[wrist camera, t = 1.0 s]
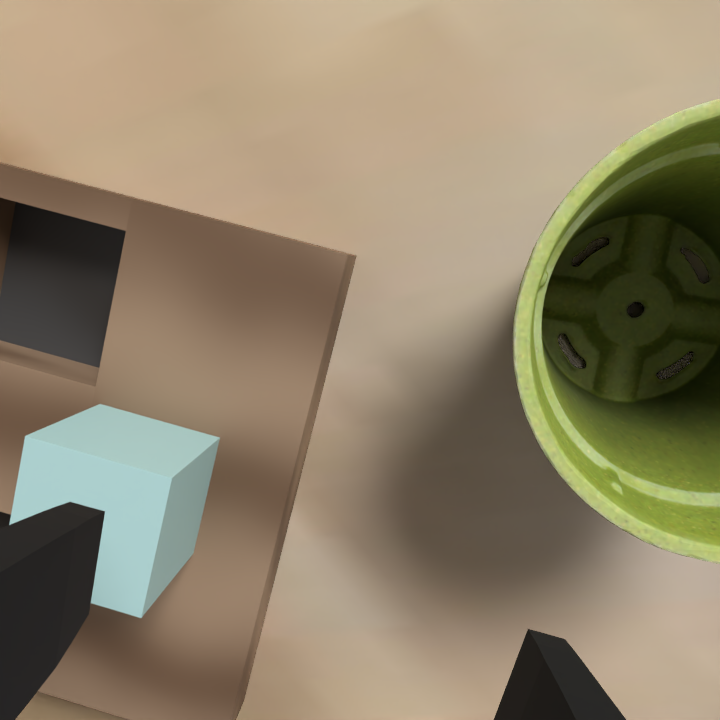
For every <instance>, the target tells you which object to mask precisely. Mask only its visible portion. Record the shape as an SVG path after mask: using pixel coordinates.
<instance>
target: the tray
mask: <svg viewBox="0 0 720 720" xmlns="http://www.w3.org/2000/svg"><path fill="white" fill-rule="evenodd" d="M355 259H356V255H352V254H348V253H344V252H340V251H336V250H333V249H329V248H325V247H321V246H317V245H313V244H310V243H306V242H302V241H298V240H294V239H291V238H287V237H283V236H279V235H275V234H271V233H268V232H264V231H260V230H256V229H252V228H249V227H245V226H241V225H237V224H233V223H229V222H226V221H222V220H218V219H214V218H210V217H207V216H203V215H199V214H195V213H191V212H187V211H184V210H180V209H176V208H172V207H168V206H165V205H161V204H157V203H153V202H149V201H145V200H142V199H138V198H134V197H130V196H126V195H122V194H119V193H115V192H111V191H107V190H103V189H100V188H96V187H92V186H88V185H84V184H80V183H77V182H73V181H69V180H65V179H61V178H58V177H54V176H50V175H46V174H42V173H38V172H35V171H31V170H27V169H23V168H19V167H16V166H12V165H8V164H4V163H0V528H3V527H5V526H8V525H9V524H10V518H11V512H12V507H13V501H14V496H15V490H16V485H17V479H18V473H19V468H20V462H21V457H22V451H23V446H24V440H25V436H26V435H28V434H31V433H33V432H35V431H38V430H40V429H42V428H45V427H47V426H49V425H52V424H54V423H56V422H59V421H61V420H64V419H66V418H68V417H71V416H73V415H75V414H78V413H80V412H82V411H85V410H87V409H89V408H92V407H94V406H96V405H99V404H102V405H106V406H109V407H113V408H116V409H120V410H124V411H127V412H131V413H134V414H138V415H141V416H145V417H148V418H152V419H156V420H159V421H163V422H166V423H170V424H173V425H177V426H180V427H184V428H187V429H191V430H195V431H198V432H202V433H205V434H209V435H212V436H216V437H219V438H220V440H219V444H218V449H217V453H216V457H215V462H214V466H213V470H212V475H211V479H210V484H209V488H208V492H207V497H206V501H205V505H204V510H203V514H202V518H201V523H200V527H199V531H198V536H197V540H196V544H195V549H194V553H193V555H192V556H191V557H190V558H189V560H188V561H187V562H186V563H185V565H184V566H183V567H182V568H181V569H180V571H179V572H178V573H177V574H176V576H175V577H174V578H173V579H172V581H171V582H170V583H169V584H168V586H167V587H166V588H165V589H164V591H163V592H162V593H161V594H160V596H159V597H158V598H157V599H156V601H155V602H154V603H153V604H152V606H151V607H150V608H149V609H148V610H147V612H146V613H145V614H144V615H143V617H142V618H139V617H136V616H132V615H129V614H126V613H122V612H119V611H116V610H112V609H109V608H106V607H102V606H99V605H96V604H92V603H91V604H90V611H89V615H88V617H87V618H86V620H85V622H84V623H83V625H82V626H81V628H80V630H79V631H78V633H77V635H76V636H75V638H74V640H73V641H72V643H71V645H70V646H69V648H68V649H67V651H66V653H65V654H64V656H63V657H62V659H61V660H60V662H59V663H58V665H57V667H56V668H55V670H54V671H53V672H52V673H51V675H50V676H49V677H48V679H47V680H46V681H45V682H44V684H43V685H42V686H41V687H40V689H39V690H38V692H41V693H44V694H47V695H51V696H54V697H57V698H60V699H63V700H67V701H70V702H73V703H76V704H80V705H83V706H86V707H89V708H92V709H96V710H99V711H102V712H105V713H109V714H112V715H115V716H118V717H121V718H125V719H128V720H236V718H237V716H238V713H239V711H240V709H241V706H242V704H243V701H244V698H245V694H246V690H247V686H248V682H249V678H250V674H251V670H252V666H253V662H254V658H255V654H256V650H257V646H258V642H259V638H260V634H261V630H262V627H263V623H264V619H265V615H266V611H267V607H268V603H269V599H270V595H271V591H272V587H273V583H274V579H275V575H276V571H277V567H278V563H279V559H280V556H281V552H282V548H283V544H284V540H285V536H286V532H287V528H288V524H289V520H290V516H291V512H292V508H293V504H294V500H295V496H296V492H297V488H298V484H299V481H300V477H301V473H302V469H303V465H304V461H305V457H306V453H307V449H308V445H309V441H310V437H311V433H312V429H313V425H314V421H315V417H316V413H317V409H318V406H319V402H320V398H321V394H322V390H323V386H324V382H325V378H326V374H327V370H328V366H329V362H330V358H331V354H332V350H333V346H334V342H335V338H336V334H337V331H338V327H339V323H340V319H341V315H342V311H343V307H344V303H345V299H346V295H347V291H348V287H349V283H350V279H351V275H352V271H353V267H354V263H355Z"/></svg>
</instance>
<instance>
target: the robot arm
mask: <svg viewBox="0 0 720 720" xmlns="http://www.w3.org/2000/svg"><path fill="white" fill-rule="evenodd" d="M104 515H105V511H102V510H98V509H95V508H91V507H87V506H84V505H80V504H77V503H73V502H68V503H65V504H62V505H59V506H56V507H53V508H51V509H48V510H46V511H43V512H40V513H38V514H35V515H33V516H30V517H28V518H25V519H23V520H20V521H18V522H15V523H13V524H10V525H8V526H5V527H3V528H0V720H15V719H16V718H17V716H18V715H19V714H20V713H21V711H22V710H23V709H24V708H25V706H26V705H27V704H28V703H29V701H30V700H31V699H32V698H33V696H34V695H35V694H36V692H37V691H38V690H39V689H40V687H41V686H42V685H43V684H44V682H45V681H46V680H47V679H48V677H49V676H50V675H51V673H52V672H53V671H54V670H55V668H56V667H57V665H58V663H59V662H60V660H61V659H62V657H63V656H64V654H65V653H66V651H67V649H68V648H69V646H70V645H71V643H72V641H73V640H74V638H75V636H76V635H77V633H78V631H79V630H80V628H81V626H82V625H83V623H84V622H85V620H86V618H87V617H88V615H89V611H90V604H91V598H92V592H93V585H94V579H95V573H96V566H97V560H98V553H99V547H100V541H101V534H102V528H103V522H104ZM494 720H626V719H625V717H624V716H623V715H622V714H621V712H620V711H619V710H618V708H617V707H616V706H615V704H614V703H613V702H612V700H611V699H610V698H609V696H608V695H607V694H606V692H605V691H604V690H603V688H602V687H601V686H600V684H599V683H598V681H597V680H596V679H595V677H594V676H593V675H592V673H591V672H590V671H589V669H588V668H587V667H586V665H585V664H584V663H583V661H582V660H581V659H580V657H579V656H578V655H577V654H576V652H575V651H574V650H573V648H572V647H571V646H570V645H569V644H568V642H567V641H566V640H565V639H562V638H559V637H555V636H551V635H548V634H544V633H541V632H537V631H533V630H530V629H528V631H527V633H526V636H525V639H524V641H523V644H522V646H521V649H520V652H519V654H518V657H517V660H516V662H515V665H514V668H513V670H512V673H511V676H510V678H509V681H508V684H507V686H506V689H505V691H504V694H503V697H502V699H501V702H500V705H499V707H498V710H497V713H496V715H495V718H494Z"/></svg>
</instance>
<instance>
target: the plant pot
mask: <svg viewBox="0 0 720 720" xmlns="http://www.w3.org/2000/svg"><path fill="white" fill-rule="evenodd" d="M600 237H606V238H608V239H609V244H608V245H607V246H605V247H602V248H601V249H600V250H598V251H596V252H595V253H593V254H591V255H590V256H589V257H588V258H586V259H585V260H584V261H583V262H582V263H581V264H580V265H579V266H578V267H575V266H572V259H573V257H574V256H576V255H577V254H579V253H580V252H581V251H583V250H585V248H586V247H587V245H588V244H589V243H590V242H591V241H593V240H595V239H598V238H600ZM681 248H683V249H689V250H691V251H692V252H693V253H695V254H696V255H697V256H699V258H700V259H701V260H702V261H703V262H704V264H705V266H706V268H707V270H708V272H709V281H708V282H707V283H705V284H703V283H701V282H700V281H699V280H698V276H697V275H696V273H695V272H694V269H693V268H692V266H691V265H690V263H689V261H687V260H686V259H685V255H684V254H682V253H681V250H680V249H681ZM633 302H640V303H641V304H642V305H643V306H644V310H643V313H642V314H641V315H640V316H639V317H634V318H632V317H631V316H629V315H628V312H627V308H628V306H629V305H631V304H632V303H633ZM561 333H563V334H566V335H567V338H568V340H569V341H570V343H571V345H572V347H573V348H574V350H575V351H576V352H577V353H578V355H579V356H580V357H581V358H583V359H584V360H585V362H586V367H585V368H583V369H582V368H578V367H575V366H573V365H572V364H571V363H570V362H569V360H568V357H567V356H566V355H565V354H564V352H563V351H562V350H561V348H560V346H559V342H558V337H559V334H561ZM689 351H692V352H693V360H692V361H691V363H690V364H689V365H687V366H686V367H685V368H684V369H682V370H681V371H679V372H678V373H677V374H676V375H674V376H672V377H669V378H668V379H659V378H658V377H657V376H656V374H657V372H659V371H661V370H662V369H664V368H667V367H668V366H671V365H672V364H675V363H676V362H677V361H678V360H679V359H682V358H683V356H685V355H686V354H687V353H688V352H689ZM513 360H514V371H515V377H516V383H517V388H518V393H519V396H520V399H521V403H522V406H523V410H524V413H525V415H526V418H527V420H528V423H529V425H530V427H531V430H532V432H533V434H534V436H535V438H536V440H537V442H538V444H539V445H540V447H541V449H542V451H543V452H544V454H545V456H546V457H547V459H548V460H549V462H550V463H551V465H552V466H553V467H554V469H555V470H556V471H557V473H558V474H559V475H560V476H561V477H562V479H563V480H564V481H565V482H566V483H567V484H568V486H569V487H570V488H571V489H572V490H573V491H574V492H575V493H576V494H577V495H578V496H579V497H580V498H581V499H582V500H583V501H584V502H585V503H587V504H588V505H589V506H590V507H591V508H592V509H594V510H595V511H596V512H597V513H598V514H600V515H601V516H602V517H604V518H605V519H607V520H608V521H609V522H611V523H613V524H614V525H616V526H618V527H619V528H621V529H622V530H624V531H626V532H628V533H629V534H631V535H633V536H635V537H636V538H638V539H640V540H642V541H644V542H646V543H649V544H651V545H654V546H656V547H658V548H661V549H664V550H667V551H670V552H673V553H676V554H679V555H683V556H687V557H691V558H696V559H699V560H703V561H709V562H713V563H717V564H720V99H717V100H713V101H709V102H705V103H702V104H699V105H696V106H693V107H690V108H688V109H685V110H682V111H680V112H677V113H675V114H673V115H671V116H669V117H666V118H664V119H662V120H660V121H658V122H656V123H654V124H653V125H651V126H649V127H647V128H645V129H644V130H642V131H640V132H639V133H637V134H635V135H634V136H632V137H631V138H629V139H628V140H626V141H625V142H624V143H622V144H621V145H620V146H618V147H617V148H616V149H614V150H613V151H611V152H610V153H609V154H608V155H606V156H605V157H604V158H603V159H602V160H601V161H599V162H598V163H597V164H596V165H595V166H594V167H593V168H592V169H591V170H590V171H588V172H587V173H586V174H585V175H584V177H583V178H582V179H581V180H580V181H579V182H578V183H577V184H576V185H575V186H574V187H573V189H572V190H571V191H570V192H569V193H568V195H567V196H566V197H565V198H564V200H563V201H562V202H561V204H560V205H559V206H558V208H557V209H556V210H555V212H554V213H553V215H552V216H551V218H550V219H549V221H548V223H547V224H546V226H545V228H544V230H543V232H542V234H541V235H540V237H539V239H538V241H537V243H536V245H535V247H534V249H533V251H532V253H531V256H530V258H529V261H528V264H527V266H526V269H525V272H524V275H523V278H522V281H521V284H520V288H519V293H518V298H517V303H516V309H515V315H514V325H513Z"/></svg>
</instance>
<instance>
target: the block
mask: <svg viewBox="0 0 720 720" xmlns="http://www.w3.org/2000/svg"><path fill="white" fill-rule="evenodd" d="M219 440H220V438H219V437H216V436H212V435H209V434H205V433H202V432H198V431H195V430H191V429H187V428H184V427H180V426H177V425H173V424H170V423H166V422H163V421H159V420H156V419H152V418H148V417H145V416H141V415H138V414H134V413H131V412H127V411H124V410H120V409H116V408H113V407H109V406H106V405H102V404H99V405H96V406H94V407H92V408H89V409H87V410H85V411H82V412H80V413H78V414H75V415H73V416H71V417H68V418H66V419H64V420H61V421H59V422H56V423H54V424H52V425H49V426H47V427H45V428H42V429H40V430H38V431H35V432H33V433H31V434H28V435H26V436H25V440H24V446H23V451H22V457H21V462H20V468H19V473H18V479H17V485H16V490H15V496H14V501H13V507H12V512H11V518H10V524H13V523H15V522H18V521H20V520H23V519H25V518H28V517H30V516H33V515H35V514H38V513H40V512H43V511H46V510H48V509H51V508H53V507H56V506H59V505H62V504H65V503H68V502H73V503H77V504H80V505H84V506H87V507H91V508H95V509H98V510H102V511H105V515H104V522H103V528H102V534H101V541H100V547H99V553H98V560H97V566H96V573H95V579H94V585H93V592H92V598H91V603H92V604H96V605H99V606H102V607H106V608H109V609H112V610H116V611H119V612H122V613H126V614H129V615H132V616H136V617H139V618H142V617H143V615H144V614H145V613H146V612H147V610H148V609H149V608H150V607H151V606H152V604H153V603H154V602H155V601H156V599H157V598H158V597H159V596H160V594H161V593H162V592H163V591H164V589H165V588H166V587H167V586H168V584H169V583H170V582H171V581H172V579H173V578H174V577H175V576H176V574H177V573H178V572H179V571H180V569H181V568H182V567H183V566H184V565H185V563H186V562H187V561H188V560H189V558H190V557H191V556H192V555H193V553H194V549H195V544H196V540H197V536H198V531H199V527H200V523H201V518H202V514H203V510H204V505H205V501H206V497H207V492H208V488H209V484H210V479H211V475H212V470H213V466H214V462H215V457H216V453H217V449H218V444H219ZM10 524H9V525H10Z"/></svg>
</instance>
